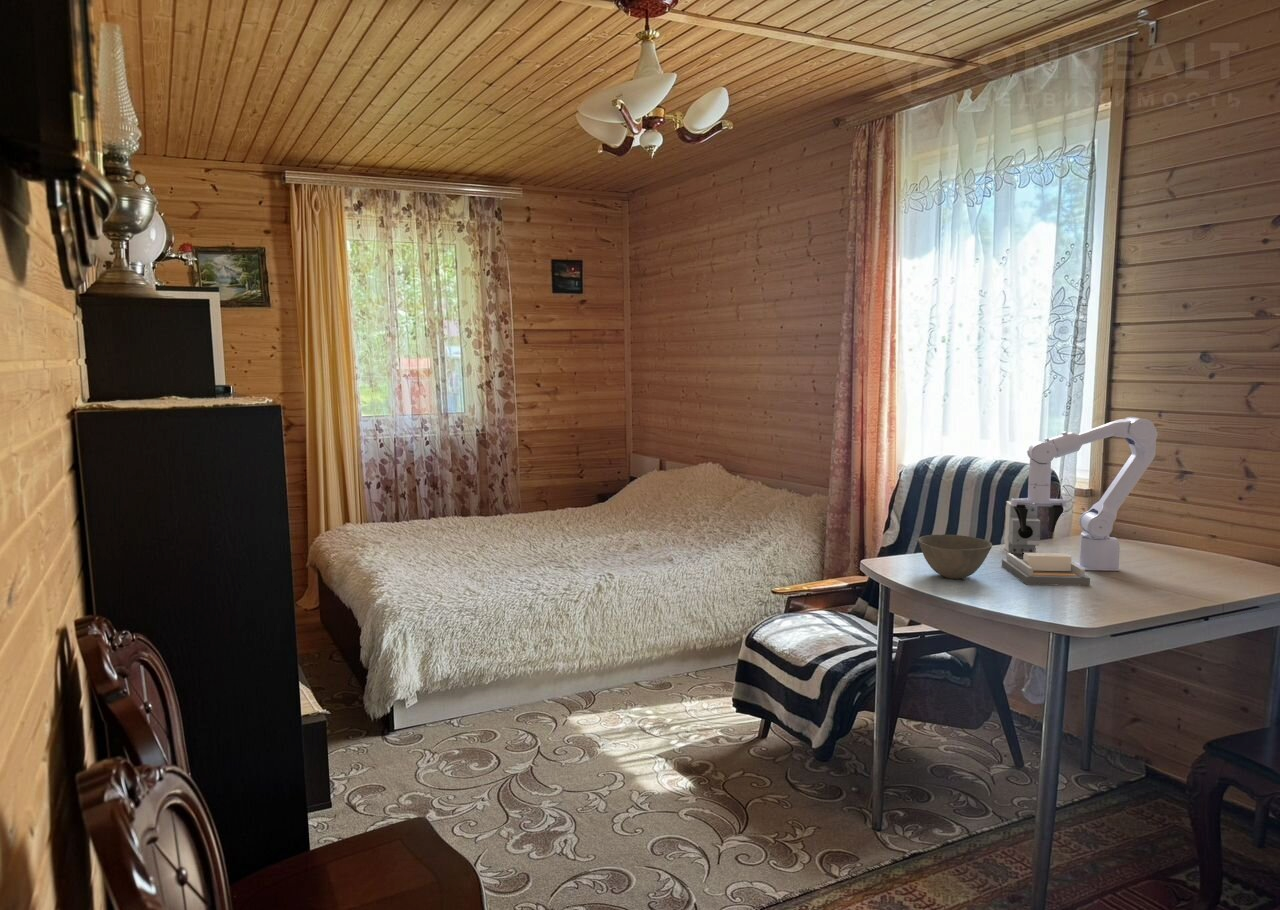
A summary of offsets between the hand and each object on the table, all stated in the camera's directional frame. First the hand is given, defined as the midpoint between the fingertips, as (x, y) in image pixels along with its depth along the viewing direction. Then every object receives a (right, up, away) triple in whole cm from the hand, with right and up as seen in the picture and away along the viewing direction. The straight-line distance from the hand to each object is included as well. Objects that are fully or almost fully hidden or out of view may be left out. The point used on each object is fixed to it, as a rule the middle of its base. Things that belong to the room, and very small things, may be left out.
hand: (1037, 531), depth 240 cm
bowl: (-29, -12, -12) cm, 33 cm away
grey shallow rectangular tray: (-3, -11, -11) cm, 16 cm away
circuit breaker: (+3, -8, +16) cm, 18 cm away
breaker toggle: (-3, -9, -13) cm, 16 cm away
